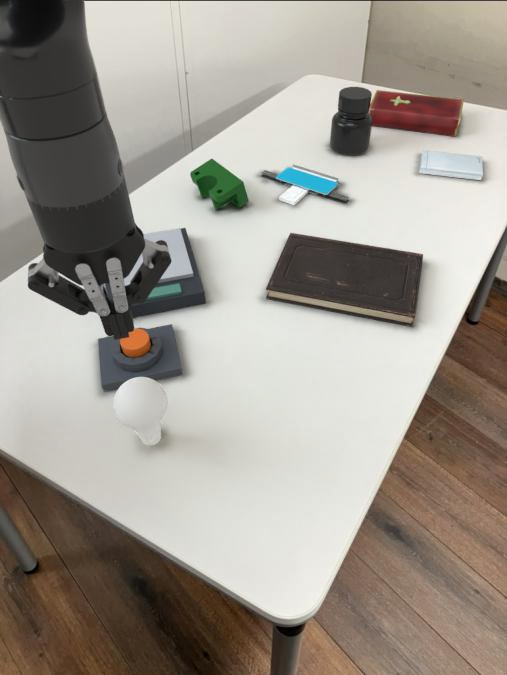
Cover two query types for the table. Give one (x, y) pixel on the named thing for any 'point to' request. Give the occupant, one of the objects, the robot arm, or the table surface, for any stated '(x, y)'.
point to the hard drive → (451, 165)
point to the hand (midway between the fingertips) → (121, 333)
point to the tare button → (136, 343)
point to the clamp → (219, 184)
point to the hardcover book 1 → (347, 278)
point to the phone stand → (305, 184)
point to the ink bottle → (352, 122)
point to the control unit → (139, 359)
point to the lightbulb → (141, 407)
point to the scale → (170, 277)
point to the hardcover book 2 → (416, 112)
